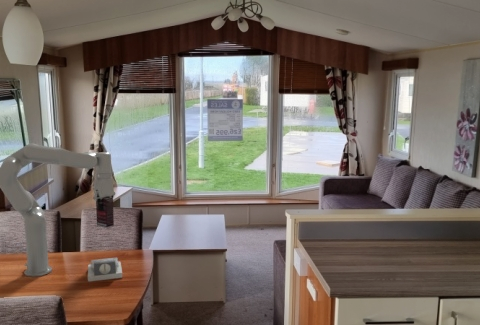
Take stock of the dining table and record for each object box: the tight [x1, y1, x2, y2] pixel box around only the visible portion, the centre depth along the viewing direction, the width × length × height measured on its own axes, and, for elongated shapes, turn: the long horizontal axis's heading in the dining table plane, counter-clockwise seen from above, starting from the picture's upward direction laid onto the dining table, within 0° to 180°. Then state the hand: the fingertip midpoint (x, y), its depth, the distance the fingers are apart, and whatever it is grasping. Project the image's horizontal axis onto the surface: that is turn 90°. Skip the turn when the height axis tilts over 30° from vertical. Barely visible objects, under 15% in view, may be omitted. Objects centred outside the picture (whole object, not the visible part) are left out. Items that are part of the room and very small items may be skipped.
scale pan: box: [90, 257, 119, 270], centre depth 220 cm, size 11×13×1 cm
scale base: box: [87, 260, 123, 282], centre depth 218 cm, size 16×16×8 cm
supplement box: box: [95, 197, 115, 229], centre depth 231 cm, size 9×5×16 cm, turn 57°
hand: (104, 209), depth 231 cm, fingers closed on supplement box, 5 cm apart
